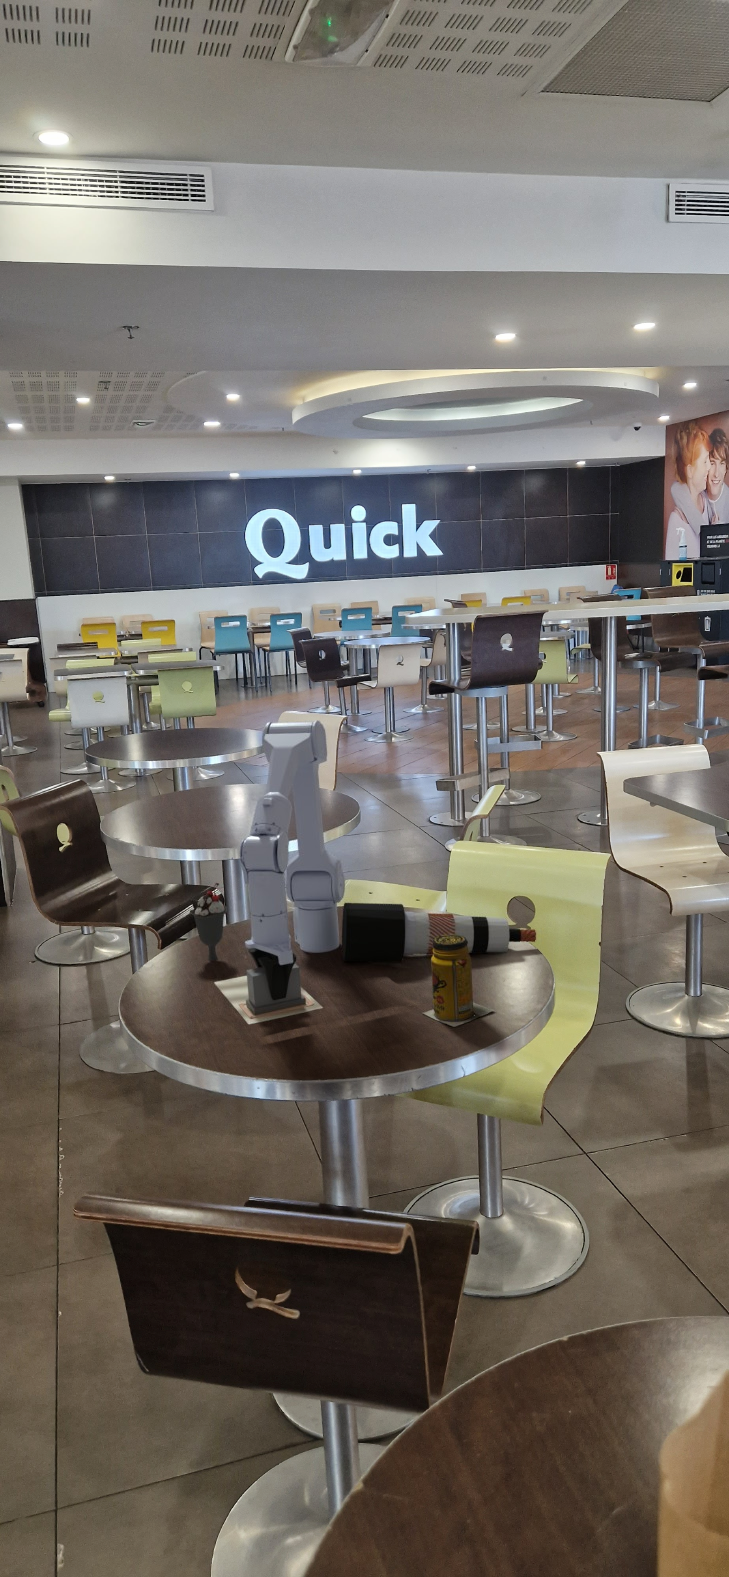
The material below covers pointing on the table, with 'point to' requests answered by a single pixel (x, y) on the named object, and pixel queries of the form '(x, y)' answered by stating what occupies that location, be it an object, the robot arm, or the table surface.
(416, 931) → the striped banded cylinder
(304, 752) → the robot arm
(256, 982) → the block
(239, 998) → the board
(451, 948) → the condiment
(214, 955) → the sundae
